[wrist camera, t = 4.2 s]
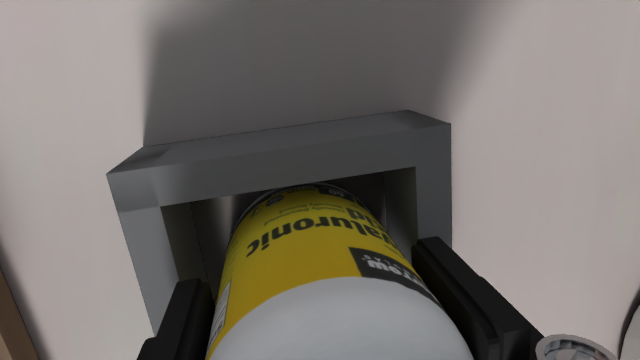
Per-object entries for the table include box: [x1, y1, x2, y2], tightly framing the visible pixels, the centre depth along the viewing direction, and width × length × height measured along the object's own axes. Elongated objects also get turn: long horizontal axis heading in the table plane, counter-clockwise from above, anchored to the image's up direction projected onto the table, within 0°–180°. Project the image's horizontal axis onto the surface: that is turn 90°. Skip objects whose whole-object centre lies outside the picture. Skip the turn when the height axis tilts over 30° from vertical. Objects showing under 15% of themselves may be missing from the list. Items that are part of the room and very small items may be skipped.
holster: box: [106, 110, 452, 337], centre depth 12 cm, size 9×9×3 cm
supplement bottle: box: [205, 182, 474, 360], centre depth 9 cm, size 5×5×10 cm
